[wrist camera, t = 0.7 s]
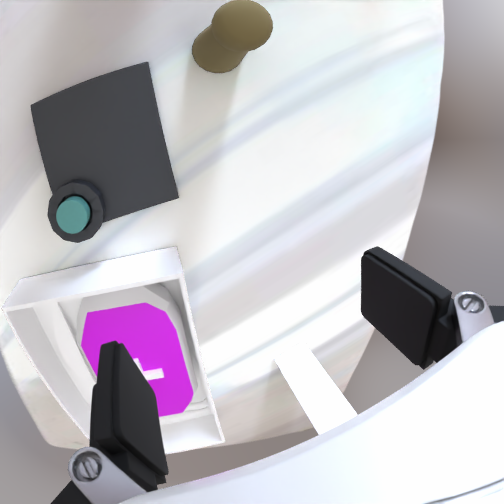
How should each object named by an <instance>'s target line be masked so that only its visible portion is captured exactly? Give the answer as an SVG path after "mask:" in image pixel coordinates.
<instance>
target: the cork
mask: <svg viewBox="0 0 504 504" xmlns="http://www.w3.org/2000/svg"><path fill="white" fill-rule="evenodd" d="M272 29H273V22H272V19H271V16H270V14H269V13H268V12H267V10H266V9H265V8H264V7H263V6H261V5H260V4H258V3H256V2H253V1H251V0H233V1H230V2H228V3H226V4H224V5H222V6H221V7H220V8H219V9H218V10H217V11H216V12H215V14H214V17H213V19H212V24H211V25H210V26H209V27H207V28H206V29H205V30H204V31H203V32H201V33H200V34H199V35H198V36H197V38H196V39H195V41H194V43H193V46H192V54H193V57H194V59H195V61H196V62H197V64H198V65H199V66H200V67H201V68H203V69H205V70H206V71H209V72H213V73H225V72H228V71H231V70H232V69H234V68H235V67H237V66H238V65H239V63H240V62H241V61H242V59H243V58H244V57H245V55H246V54H247V52H248V51H251V50H255V49H256V48H258V47H260V46H262V45H263V44H265V42H266V41H267V40H268V39H269V37H270V35H271V32H272Z"/></svg>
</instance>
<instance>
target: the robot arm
mask: <svg viewBox="0 0 504 504" xmlns="http://www.w3.org/2000/svg"><path fill="white" fill-rule="evenodd" d="M451 294H452V292H451V291H449V290H448V289H446V288H445V287H443V286H442V285H440V284H438V283H437V282H435V281H434V280H432V279H431V278H429V277H427V276H426V275H424V274H423V273H421V272H420V271H418V270H416V269H415V268H413V267H411V266H410V265H408V264H407V263H405V262H403V261H402V260H400V259H398V258H397V257H395V256H394V255H392V254H390V253H388V252H387V251H385V250H383V249H382V248H380V247H374V248H372V249H369V250H367V251H365V252H364V255H363V256H362V258H361V312H362V315H363V316H364V318H365V319H366V320H368V321H369V322H370V323H371V324H372V325H373V326H374V327H375V328H376V329H377V330H378V331H379V332H381V333H382V334H383V335H384V336H385V337H386V338H387V339H388V340H389V341H390V342H391V343H392V344H393V345H394V346H395V347H396V348H398V349H399V350H400V351H401V352H402V353H403V354H404V355H405V356H406V357H407V358H408V359H409V360H410V361H411V362H412V363H414V364H415V365H419V366H420V367H421V368H422V369H425V368H427V367H428V366H429V365H431V364H432V363H433V361H435V362H436V364H435V365H434V366H432V367H431V368H430V369H428V370H427V371H426V372H425V373H423V374H422V375H420V376H419V377H417V378H416V379H414V380H413V381H412V382H410V383H409V384H407V385H406V386H404V387H403V388H401V389H400V390H398V391H397V392H395V393H394V394H392V395H391V396H389V397H387V398H386V399H384V400H382V401H381V402H379V403H377V404H376V405H374V406H373V407H371V408H369V409H367V410H366V411H364V412H362V413H361V414H359V415H357V416H355V417H353V418H351V419H350V420H348V421H346V422H344V423H342V424H340V425H338V426H336V427H334V428H332V429H330V430H328V431H326V432H324V433H322V434H320V435H318V436H316V437H314V438H312V439H310V440H307V441H305V442H303V443H301V444H298V445H296V446H294V447H292V448H289V449H287V450H284V451H282V452H279V453H277V454H275V455H272V456H269V457H267V458H264V459H261V460H259V461H256V462H253V463H250V464H247V465H244V466H241V467H238V468H236V469H232V470H229V471H226V472H222V473H219V474H216V475H213V476H209V477H206V478H202V479H198V480H195V481H191V482H187V483H183V484H178V485H175V486H171V487H167V488H163V489H159V490H158V488H157V485H158V484H163V483H166V479H165V475H168V467H167V462H166V456H165V451H164V445H163V440H162V434H161V428H160V421H159V414H158V407H157V400H156V395H155V393H154V390H153V389H152V387H151V386H150V384H149V383H148V382H147V380H146V379H145V377H144V376H143V374H142V373H141V371H140V369H139V368H138V366H137V365H136V363H135V362H134V360H133V359H132V357H131V355H130V354H129V352H128V350H127V349H126V347H125V346H124V344H123V343H118V342H117V341H111V342H108V343H105V344H102V345H101V347H100V354H99V362H98V372H97V383H96V384H95V385H94V386H93V389H92V401H91V417H90V447H84V448H81V449H79V450H78V451H76V452H75V453H74V454H73V456H72V457H71V459H70V461H69V465H68V471H69V475H70V477H71V479H72V480H71V481H70V482H69V483H68V485H67V486H66V487H65V488H64V489H63V490H62V491H61V493H60V494H59V495H58V496H57V497H56V498H55V500H54V501H53V502H52V503H51V504H504V306H489V305H488V302H487V301H486V299H485V298H484V297H483V296H482V295H480V294H478V293H476V292H472V291H463V292H461V293H458V294H457V295H456V296H455V299H454V300H453V299H452V298H451Z"/></svg>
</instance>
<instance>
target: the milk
mask: <svg viewBox="0 0 504 504" xmlns="http://www.w3.org/2000/svg"><path fill="white" fill-rule="evenodd" d="M274 360H275V362H276V363H277V365H278V367H279V369H280V370H281V372H282V374H283V375H284V377H285V379H286V381H287V382H288V384H289V386H290V387H291V389H292V391H293V393H294V394H295V396H296V398H297V399H298V401H299V403H300V404H301V406H302V408H303V409H304V411H305V413H306V414H307V416H308V418H309V419H310V421H311V423H312V424H313V426H314V428H315V429H316V431H317V432H318V434H319V435H320V434H322V433H324V432H326V431H328V430H330V429H332V428H334V427H336V426H338V425H340V424H342V423H344V422H346V421H348V420H350V419H351V418H353V417H355V416H357V413H356V412H355V411H354V409H353V408H352V407H351V405H350V404H349V403H348V401H347V400H346V398H345V397H344V396H343V394H342V393H341V392H340V390H339V389H338V388H337V386H336V385H335V384H334V382H333V381H332V379H331V378H330V377H329V375H328V374H327V373H326V371H325V370H324V369H323V367H322V366H321V365H320V363H319V362H318V360H317V359H316V358H315V356H314V355H313V354H312V352H311V351H310V350H309V348H308V347H307V345H306V344H305V343H304V342H301V343H300V344H298V345H296V346H295V347H293V348H292V349H290V350H288V351H287V352H285V353H283V354H282V355H280V356H278V357H277V358H275V359H274Z"/></svg>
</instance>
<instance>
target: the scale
mask: <svg viewBox="0 0 504 504" xmlns="http://www.w3.org/2000/svg"><path fill="white" fill-rule="evenodd" d="M31 111H32V117H33V122H34V126H35V131H36V136H37V140H38V144H39V148H40V152H41V156H42V160H43V164H44V167H45V171H46V174H47V178H48V181H49V184H50V187H51V191H52V194H53V196H52V197H51V199H50V201H49V208H48V218H49V221H50V224H51V226H52V229H53V231H54V232H56V233H57V234H58V235H59V236H60V237H61V238H62V239H63V240H66V241H71V242H76V243H79V242H82V241H85V240H87V239H90V238H92V237H93V236H94V234H95V233H96V232H97V231H98V229H99V228H100V227H101V225H102V223H103V222H106V221H109V220H112V219H115V218H118V217H121V216H124V215H127V214H130V213H133V212H136V211H139V210H142V209H145V208H148V207H151V206H154V205H158V204H161V203H164V202H167V201H171V200H174V199H177V198H179V196H178V192H177V188H176V184H175V180H174V176H173V172H172V168H171V164H170V160H169V156H168V152H167V148H166V144H165V139H164V135H163V131H162V126H161V122H160V117H159V113H158V108H157V103H156V99H155V94H154V89H153V84H152V79H151V74H150V68H149V63H148V62H144V63H140V64H137V65H133V66H130V67H126V68H123V69H120V70H116V71H113V72H110V73H107V74H104V75H101V76H98V77H96V78H93V79H90V80H87V81H85V82H82V83H80V84H77V85H74V86H72V87H70V88H67V89H65V90H62V91H60V92H58V93H56V94H53V95H51V96H49V97H47V98H45V99H42V100H40V101H38V102H36V103H34V104H32V105H31ZM72 196H78V197H81V198H83V199H84V200H85V201H86V202H87V203H88V205H89V207H90V218H89V221H88V222H87V224H86V226H85V227H84V228H83V230H81V231H80V232H78V233H74V234H71V233H67V232H65V231H63V230H62V229H61V228H60V226H59V225H58V223H57V219H56V213H57V210H58V207H59V206H60V205H61V204H62V203H63V202H64V201H65V200H66V199H67V198H69V197H72Z"/></svg>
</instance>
